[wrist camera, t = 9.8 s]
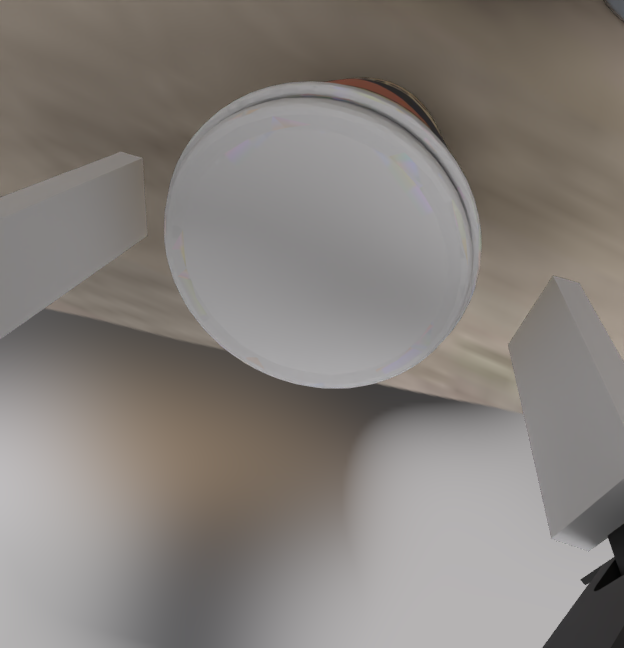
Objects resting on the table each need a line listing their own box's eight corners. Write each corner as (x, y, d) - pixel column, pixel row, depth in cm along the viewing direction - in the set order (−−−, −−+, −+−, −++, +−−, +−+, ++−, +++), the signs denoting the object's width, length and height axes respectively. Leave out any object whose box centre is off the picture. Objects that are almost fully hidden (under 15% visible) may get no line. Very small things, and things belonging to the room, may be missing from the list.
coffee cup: (494, 85, 18) (565, 150, 8) (418, 267, 24) (410, 429, 14) (290, 32, 18) (143, 37, 9) (264, 222, 24) (158, 348, 15)
